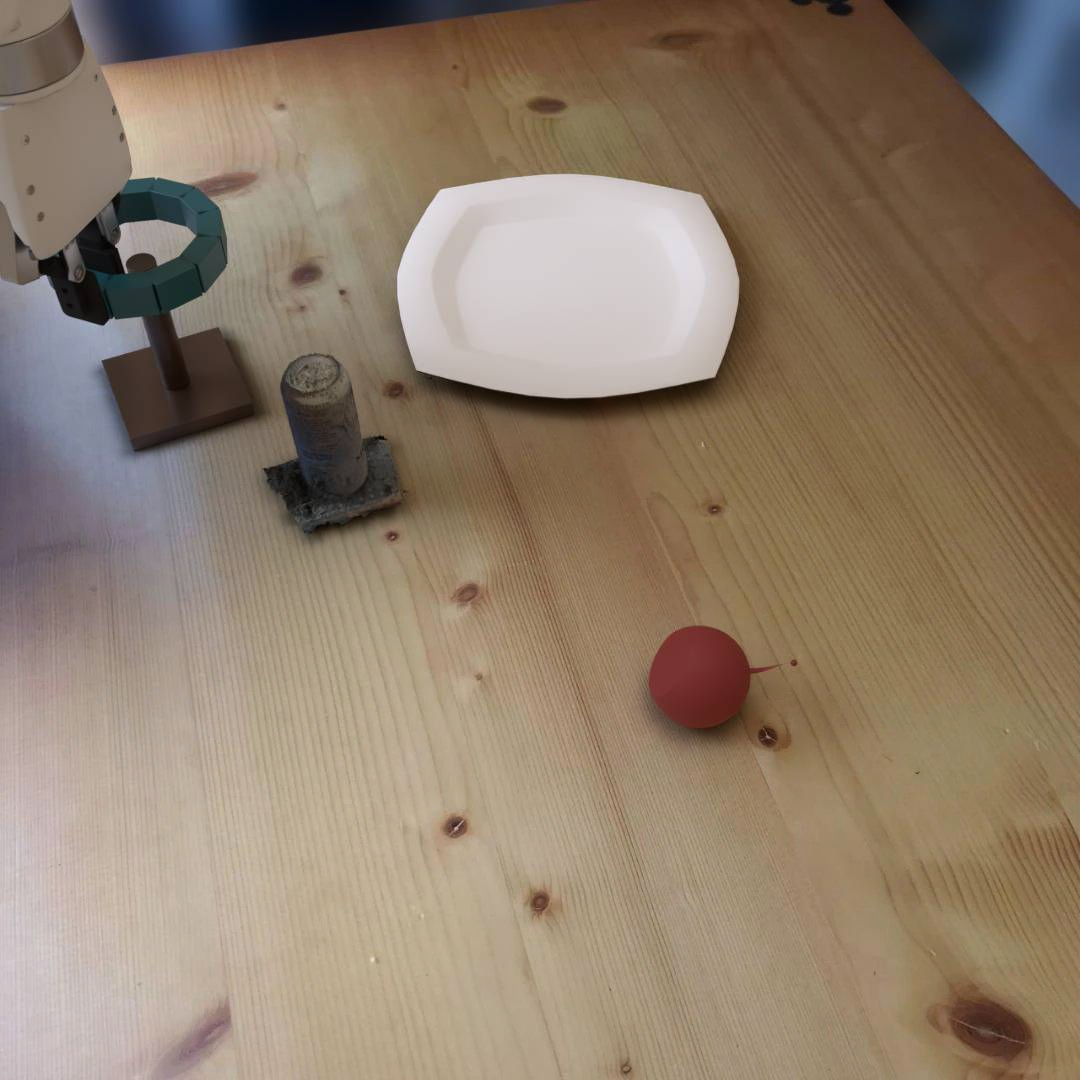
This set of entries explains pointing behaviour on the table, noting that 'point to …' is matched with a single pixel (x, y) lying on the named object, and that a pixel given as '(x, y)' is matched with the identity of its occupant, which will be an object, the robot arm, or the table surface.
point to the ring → (180, 274)
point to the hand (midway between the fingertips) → (97, 304)
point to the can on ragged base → (330, 449)
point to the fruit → (701, 676)
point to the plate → (568, 287)
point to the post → (175, 379)
